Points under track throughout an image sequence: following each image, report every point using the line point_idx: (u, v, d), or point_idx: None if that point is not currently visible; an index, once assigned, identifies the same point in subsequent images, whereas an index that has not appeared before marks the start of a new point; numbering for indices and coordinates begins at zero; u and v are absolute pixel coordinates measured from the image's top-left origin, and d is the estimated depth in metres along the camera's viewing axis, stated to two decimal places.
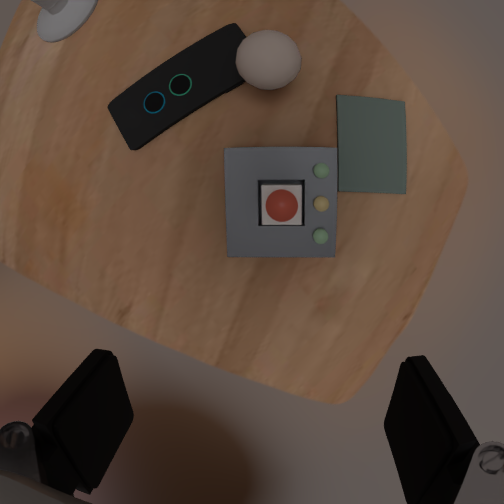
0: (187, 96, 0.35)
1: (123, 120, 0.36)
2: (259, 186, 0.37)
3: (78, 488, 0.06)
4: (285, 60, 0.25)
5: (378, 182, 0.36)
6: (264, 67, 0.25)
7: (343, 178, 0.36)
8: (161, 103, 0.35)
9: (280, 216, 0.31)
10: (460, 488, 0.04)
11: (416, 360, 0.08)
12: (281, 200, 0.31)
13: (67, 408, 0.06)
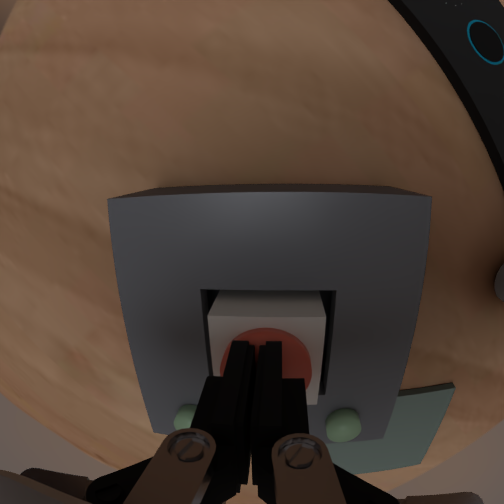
0: None
1: None
2: None
3: None
4: None
5: None
6: None
7: None
8: (488, 56, 0.11)
9: None
10: (278, 495, 0.05)
11: (269, 344, 0.09)
12: None
13: (241, 402, 0.07)
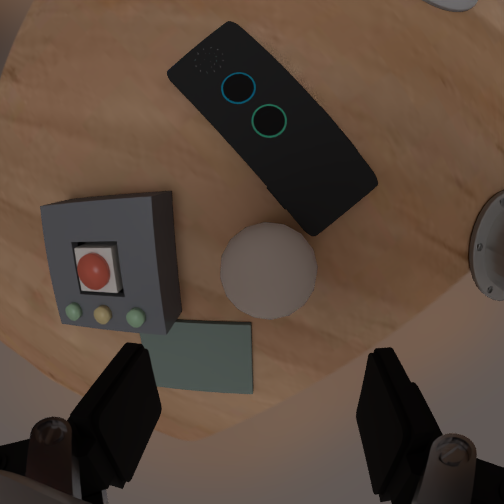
0: (251, 135, 0.25)
1: (208, 50, 0.23)
2: None
3: (111, 482, 0.07)
4: (251, 308, 0.19)
5: (155, 360, 0.33)
6: (237, 279, 0.19)
7: None
8: (237, 99, 0.24)
9: (81, 270, 0.25)
10: (421, 483, 0.04)
11: (383, 351, 0.09)
12: (96, 272, 0.24)
13: (105, 401, 0.07)
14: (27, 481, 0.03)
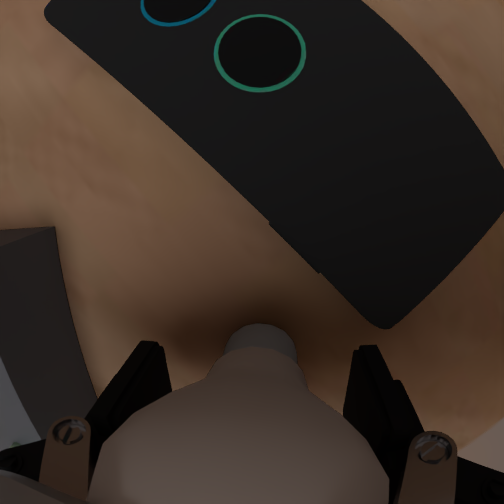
0: (217, 91, 0.09)
1: None
2: None
3: None
4: None
5: None
6: None
7: None
8: (175, 15, 0.08)
9: None
10: (402, 483, 0.04)
11: (367, 348, 0.09)
12: None
13: (124, 399, 0.07)
14: (27, 481, 0.03)
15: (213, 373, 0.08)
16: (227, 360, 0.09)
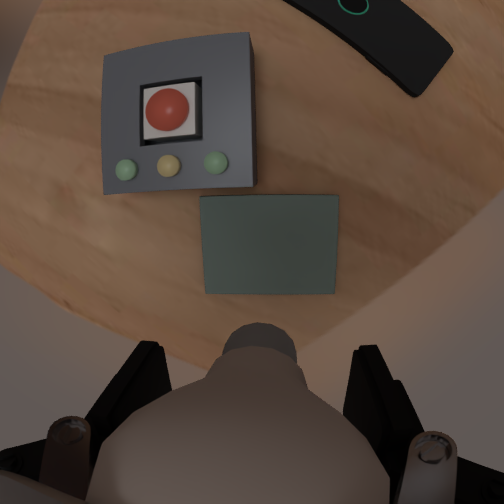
0: (342, 13, 0.21)
1: None
2: (201, 88, 0.24)
3: None
4: None
5: (216, 253, 0.28)
6: None
7: (217, 203, 0.27)
8: None
9: (152, 109, 0.20)
10: (402, 483, 0.04)
11: (367, 348, 0.09)
12: (172, 107, 0.20)
13: (124, 399, 0.07)
14: (27, 481, 0.03)
15: None
16: (226, 359, 0.09)
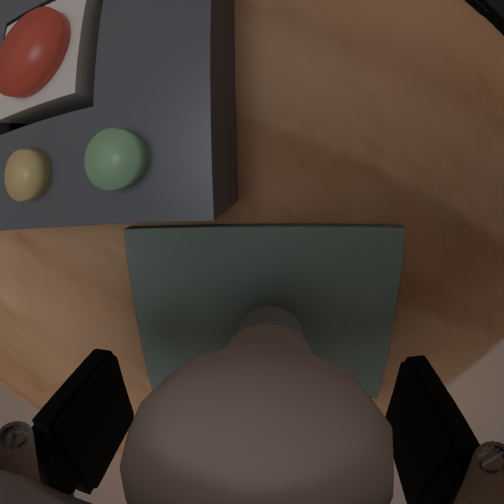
0: None
1: None
2: None
3: (78, 488, 0.06)
4: None
5: (162, 335, 0.14)
6: None
7: (156, 243, 0.13)
8: None
9: (4, 57, 0.06)
10: (460, 488, 0.04)
11: (416, 360, 0.08)
12: (34, 43, 0.06)
13: (67, 408, 0.06)
14: (27, 481, 0.03)
15: None
16: (243, 335, 0.10)
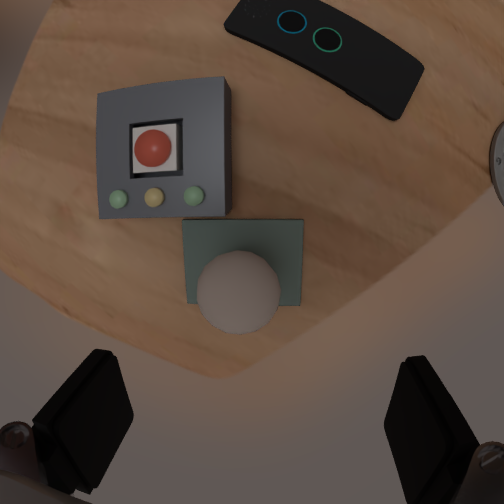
0: (318, 53, 0.26)
1: (253, 0, 0.24)
2: None
3: (78, 488, 0.06)
4: (221, 325, 0.22)
5: (196, 269, 0.32)
6: (209, 301, 0.22)
7: (197, 226, 0.31)
8: (295, 29, 0.25)
9: (139, 147, 0.24)
10: (460, 488, 0.04)
11: (416, 360, 0.08)
12: (157, 147, 0.24)
13: (67, 408, 0.06)
14: (27, 481, 0.03)
15: None
16: None
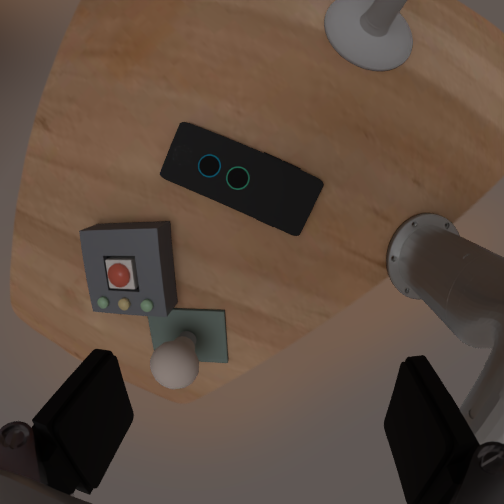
0: (231, 191, 0.40)
1: (178, 148, 0.39)
2: None
3: (78, 488, 0.06)
4: (163, 385, 0.37)
5: (158, 338, 0.47)
6: (155, 373, 0.36)
7: None
8: (212, 173, 0.39)
9: (111, 274, 0.39)
10: (460, 488, 0.04)
11: (416, 360, 0.08)
12: (121, 276, 0.39)
13: (67, 408, 0.06)
14: (27, 481, 0.03)
15: (173, 341, 0.42)
16: (176, 338, 0.43)
